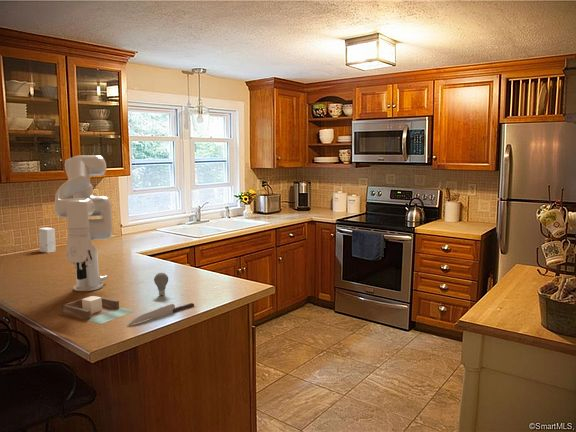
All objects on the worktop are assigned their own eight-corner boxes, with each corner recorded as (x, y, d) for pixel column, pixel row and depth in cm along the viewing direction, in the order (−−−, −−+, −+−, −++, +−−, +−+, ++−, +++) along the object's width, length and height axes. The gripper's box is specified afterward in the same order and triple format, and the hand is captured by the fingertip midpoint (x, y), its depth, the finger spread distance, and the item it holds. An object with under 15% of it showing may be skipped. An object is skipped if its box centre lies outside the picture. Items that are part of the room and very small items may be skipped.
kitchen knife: (192, 298, 192) (124, 316, 169) (194, 298, 191) (126, 316, 168) (192, 308, 192) (124, 327, 170) (194, 308, 191) (126, 328, 169)
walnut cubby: (95, 304, 195) (94, 294, 194) (135, 313, 183) (134, 303, 183) (60, 315, 181) (59, 305, 180) (100, 326, 169) (100, 316, 169)
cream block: (93, 307, 187) (92, 295, 186) (102, 310, 184) (101, 297, 184) (82, 311, 182) (81, 299, 182) (91, 313, 180) (90, 301, 179)
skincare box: (39, 251, 295) (37, 228, 293) (48, 250, 301) (46, 226, 299) (48, 253, 292) (46, 229, 289) (56, 251, 297) (55, 227, 295)
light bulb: (170, 293, 209) (169, 271, 208) (167, 297, 203) (166, 274, 202) (156, 293, 209) (155, 271, 207) (153, 297, 203) (152, 274, 201)
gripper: (57, 232, 182) (61, 278, 184) (83, 234, 174) (86, 283, 177) (74, 229, 188) (77, 274, 190) (100, 232, 181) (103, 278, 183)
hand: (81, 278), depth 183 cm, fingers closed
